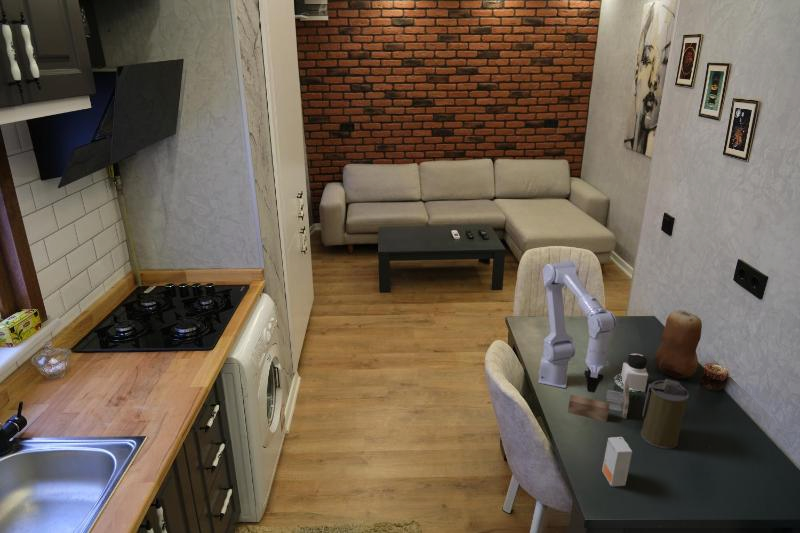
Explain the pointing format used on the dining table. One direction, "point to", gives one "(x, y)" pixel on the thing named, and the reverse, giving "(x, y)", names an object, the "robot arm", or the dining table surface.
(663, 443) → the canister
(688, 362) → the butternut squash
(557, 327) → the robot arm
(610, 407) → the bracket
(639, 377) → the medicine bottle
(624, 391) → the wall plate
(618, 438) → the skincare box
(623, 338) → the dining table surface
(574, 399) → the brown wooden block
